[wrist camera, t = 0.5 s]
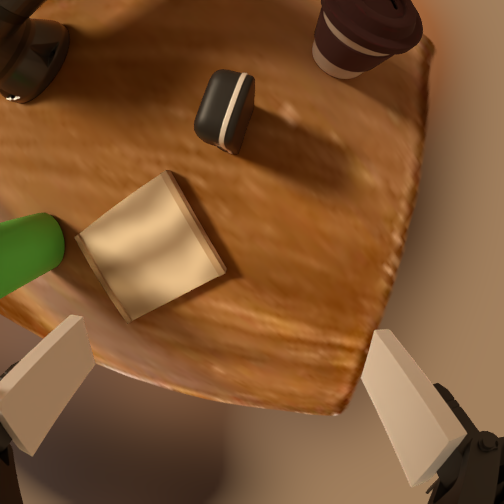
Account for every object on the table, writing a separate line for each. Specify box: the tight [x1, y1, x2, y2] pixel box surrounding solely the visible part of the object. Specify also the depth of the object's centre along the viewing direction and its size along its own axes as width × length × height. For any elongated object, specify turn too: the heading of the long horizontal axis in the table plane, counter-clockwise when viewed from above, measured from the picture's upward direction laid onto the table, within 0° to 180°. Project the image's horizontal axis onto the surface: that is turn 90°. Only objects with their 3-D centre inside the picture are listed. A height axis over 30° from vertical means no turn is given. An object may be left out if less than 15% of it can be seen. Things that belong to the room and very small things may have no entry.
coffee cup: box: [312, 0, 423, 79], centre depth 21 cm, size 10×10×15 cm
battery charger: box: [194, 69, 255, 154], centre depth 25 cm, size 7×4×11 cm, turn 162°
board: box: [74, 170, 227, 324], centre depth 34 cm, size 14×16×2 cm
